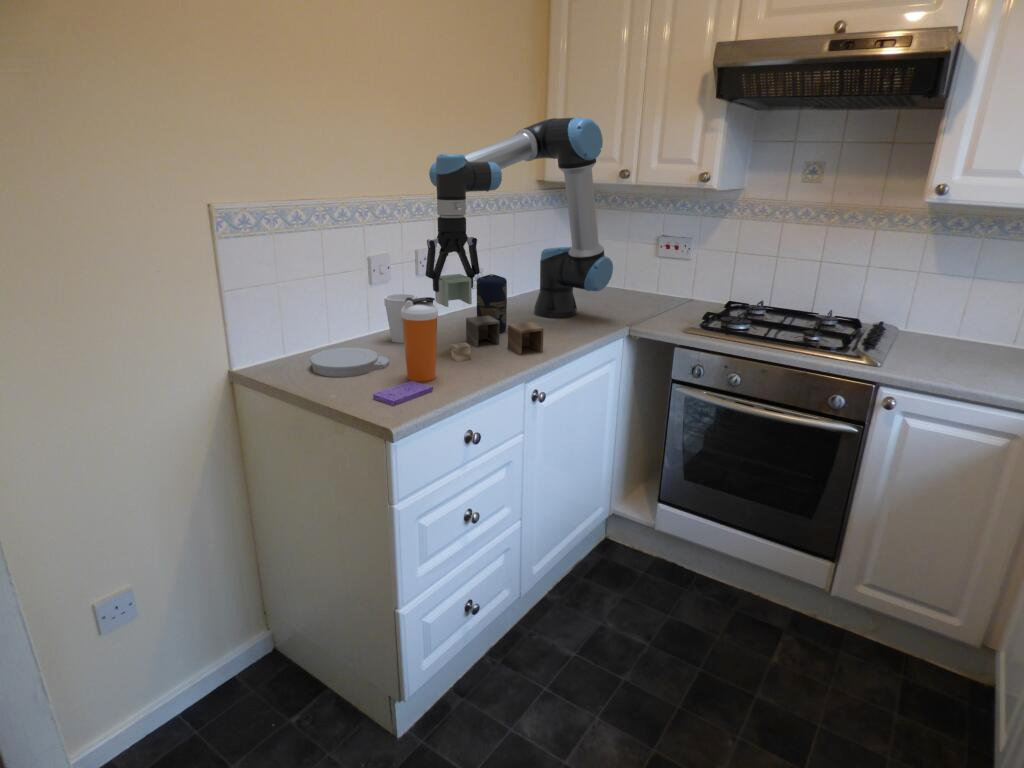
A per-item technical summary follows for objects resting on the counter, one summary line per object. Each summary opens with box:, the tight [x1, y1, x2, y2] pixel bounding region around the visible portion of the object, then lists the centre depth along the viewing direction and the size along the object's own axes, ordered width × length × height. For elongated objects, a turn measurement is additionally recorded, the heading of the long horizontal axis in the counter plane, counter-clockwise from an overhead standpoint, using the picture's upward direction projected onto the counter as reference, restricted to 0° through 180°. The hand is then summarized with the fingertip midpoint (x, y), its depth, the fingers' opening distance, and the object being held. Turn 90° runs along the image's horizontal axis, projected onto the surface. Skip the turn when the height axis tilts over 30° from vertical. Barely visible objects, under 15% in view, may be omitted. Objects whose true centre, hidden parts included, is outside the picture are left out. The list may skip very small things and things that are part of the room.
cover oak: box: [465, 316, 501, 348], centre depth 191 cm, size 8×8×7 cm
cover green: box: [434, 273, 473, 308], centre depth 176 cm, size 8×8×7 cm
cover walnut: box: [507, 321, 544, 356], centre depth 185 cm, size 8×8×7 cm
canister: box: [476, 273, 508, 333], centre depth 202 cm, size 10×10×18 cm
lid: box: [309, 347, 390, 378], centre depth 169 cm, size 17×20×3 cm
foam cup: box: [383, 293, 418, 344], centre depth 192 cm, size 10×9×13 cm
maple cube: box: [450, 341, 472, 362], centre depth 177 cm, size 4×4×4 cm
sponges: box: [372, 380, 434, 406], centre depth 150 cm, size 7×13×2 cm, turn 143°
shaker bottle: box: [401, 296, 439, 383], centre depth 158 cm, size 9×9×20 cm
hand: (453, 301), depth 177 cm, fingers closed on cover green, 7 cm apart
